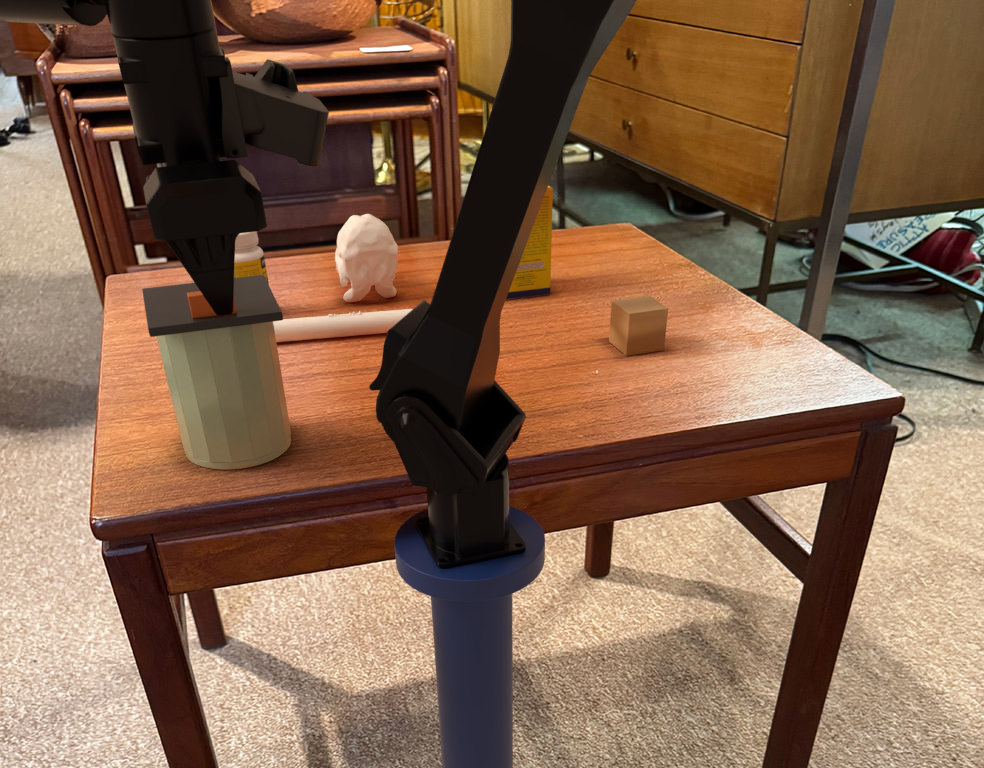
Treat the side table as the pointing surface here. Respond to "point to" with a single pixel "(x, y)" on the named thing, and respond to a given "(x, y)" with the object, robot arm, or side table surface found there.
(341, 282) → the penguin figurine
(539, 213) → the supplement box
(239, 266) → the supplement bottle
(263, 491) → the side table surface
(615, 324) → the block
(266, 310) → the slider
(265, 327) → the tumbler
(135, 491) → the side table surface
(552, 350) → the side table surface
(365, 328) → the white rod
